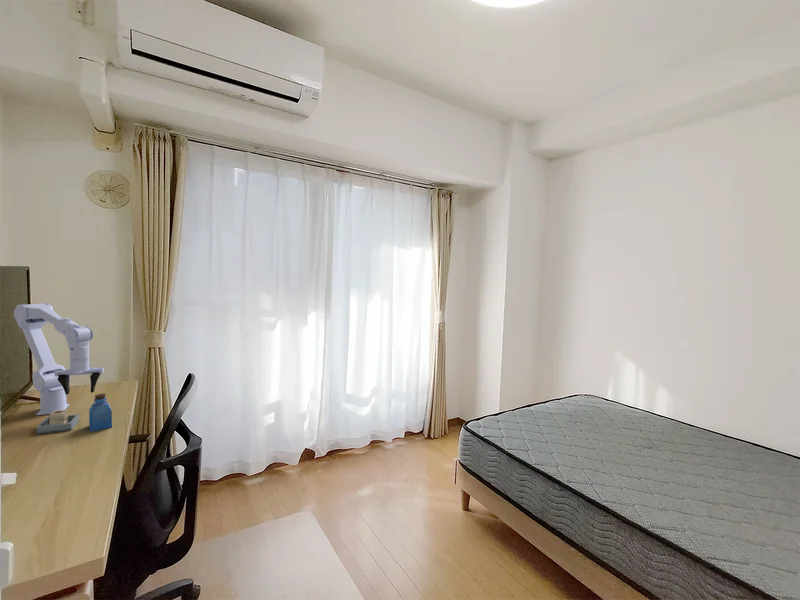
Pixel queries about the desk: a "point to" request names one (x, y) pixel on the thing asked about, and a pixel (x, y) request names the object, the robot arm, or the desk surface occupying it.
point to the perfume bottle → (100, 414)
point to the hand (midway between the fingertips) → (80, 392)
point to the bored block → (58, 417)
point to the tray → (57, 425)
